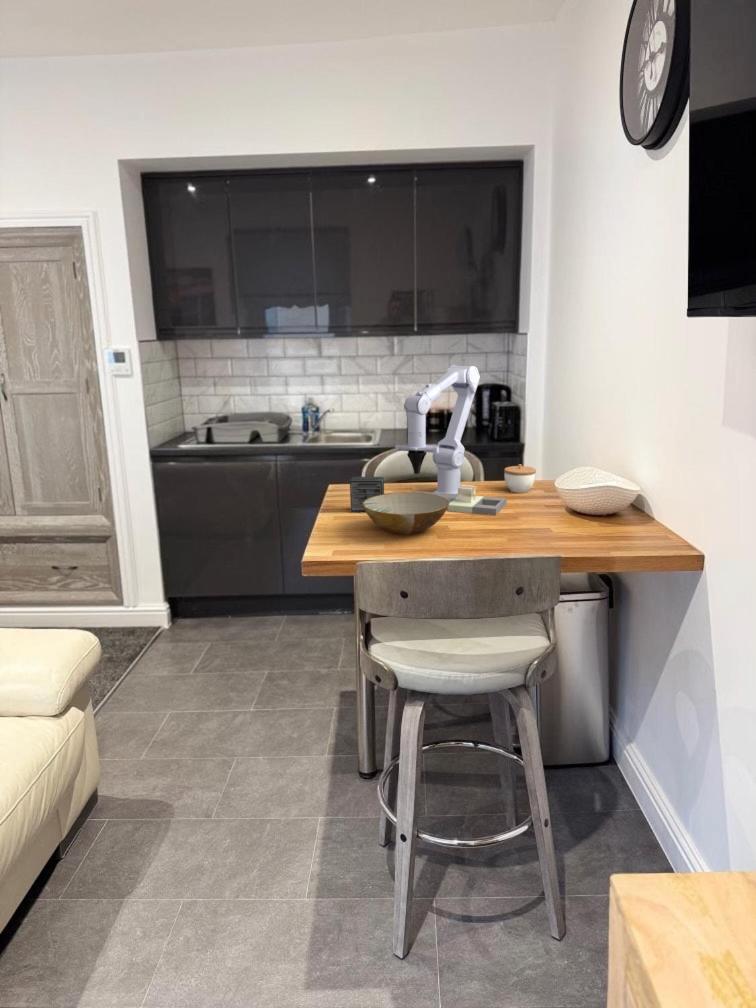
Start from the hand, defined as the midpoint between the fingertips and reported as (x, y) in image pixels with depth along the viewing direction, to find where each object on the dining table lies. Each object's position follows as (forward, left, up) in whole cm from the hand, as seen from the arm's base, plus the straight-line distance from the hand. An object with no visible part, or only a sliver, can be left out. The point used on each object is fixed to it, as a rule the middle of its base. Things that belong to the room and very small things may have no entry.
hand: (417, 473), depth 239 cm
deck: (+2, +13, -9) cm, 16 cm away
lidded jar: (-25, +29, -10) cm, 39 cm away
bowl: (+32, +8, -10) cm, 34 cm away
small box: (+16, -11, -10) cm, 22 cm away
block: (+2, +18, -7) cm, 19 cm away
